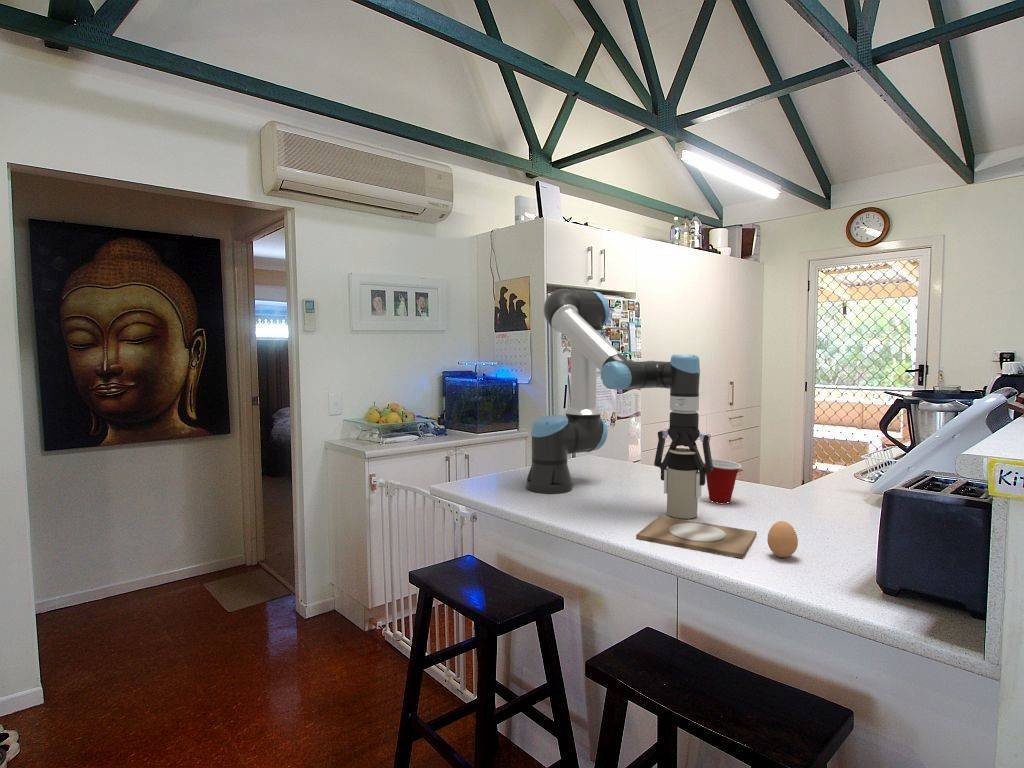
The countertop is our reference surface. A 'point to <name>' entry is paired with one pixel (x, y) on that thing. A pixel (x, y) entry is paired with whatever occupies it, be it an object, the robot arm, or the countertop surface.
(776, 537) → the egg
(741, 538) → the walnut board
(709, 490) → the plastic cup
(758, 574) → the countertop surface
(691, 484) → the travel mug
